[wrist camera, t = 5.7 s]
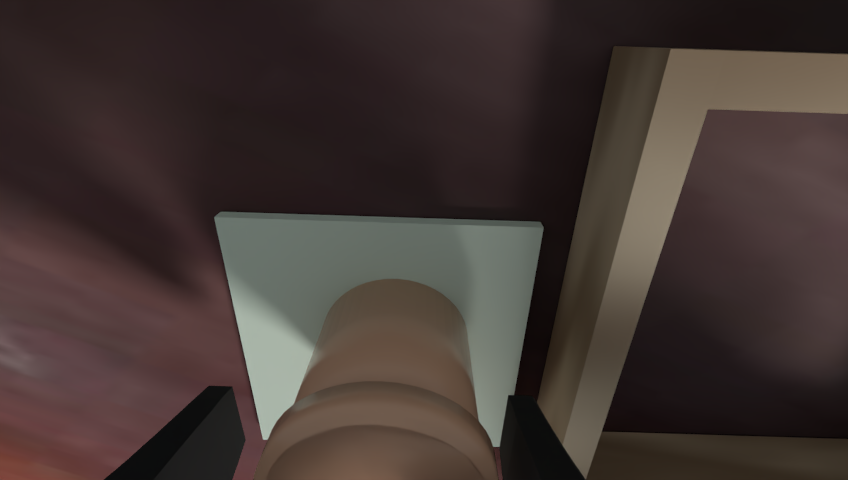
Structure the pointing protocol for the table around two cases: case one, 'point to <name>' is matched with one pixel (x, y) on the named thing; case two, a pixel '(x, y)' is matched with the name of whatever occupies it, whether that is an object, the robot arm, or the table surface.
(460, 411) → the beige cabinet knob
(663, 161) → the wooden frame
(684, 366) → the table surface
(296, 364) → the mat
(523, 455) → the robot arm
